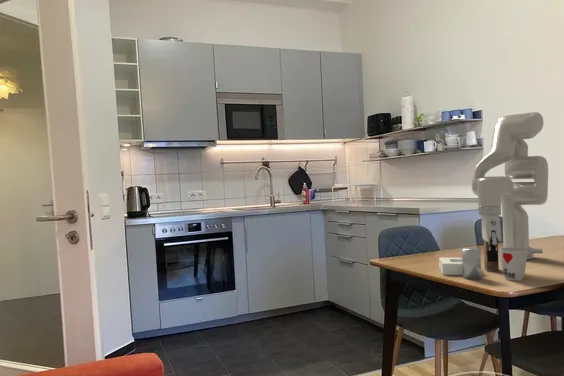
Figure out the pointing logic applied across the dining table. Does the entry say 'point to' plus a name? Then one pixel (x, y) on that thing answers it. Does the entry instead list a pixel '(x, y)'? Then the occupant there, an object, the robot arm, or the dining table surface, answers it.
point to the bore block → (450, 266)
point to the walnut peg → (488, 265)
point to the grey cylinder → (471, 263)
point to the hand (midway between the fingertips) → (491, 259)
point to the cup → (513, 262)
